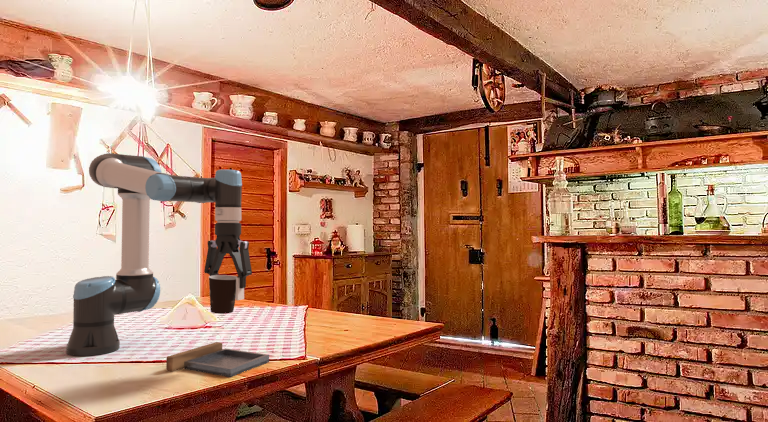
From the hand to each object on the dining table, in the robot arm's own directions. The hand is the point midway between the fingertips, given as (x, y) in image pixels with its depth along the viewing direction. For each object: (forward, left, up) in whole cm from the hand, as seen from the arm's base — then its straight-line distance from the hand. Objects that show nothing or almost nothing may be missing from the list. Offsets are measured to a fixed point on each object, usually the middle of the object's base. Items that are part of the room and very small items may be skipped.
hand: (227, 298), depth 155 cm
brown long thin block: (-10, -2, -20) cm, 22 cm away
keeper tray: (0, 0, -20) cm, 20 cm away
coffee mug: (-1, 0, -4) cm, 4 cm away
